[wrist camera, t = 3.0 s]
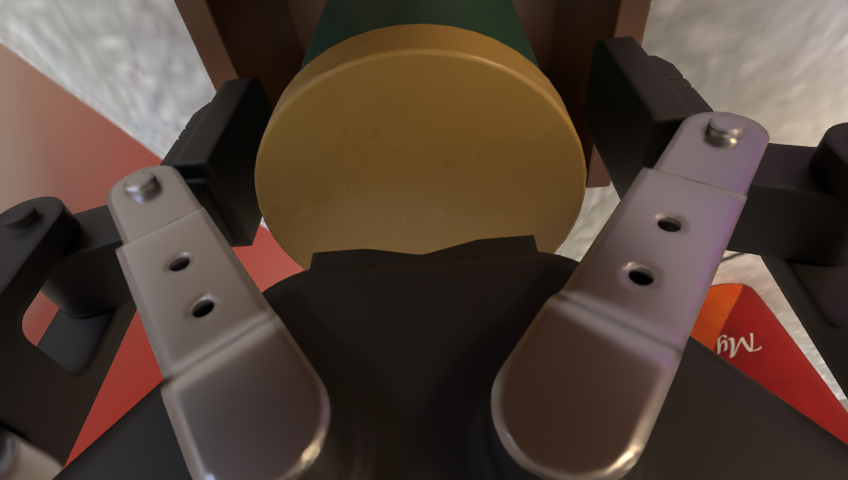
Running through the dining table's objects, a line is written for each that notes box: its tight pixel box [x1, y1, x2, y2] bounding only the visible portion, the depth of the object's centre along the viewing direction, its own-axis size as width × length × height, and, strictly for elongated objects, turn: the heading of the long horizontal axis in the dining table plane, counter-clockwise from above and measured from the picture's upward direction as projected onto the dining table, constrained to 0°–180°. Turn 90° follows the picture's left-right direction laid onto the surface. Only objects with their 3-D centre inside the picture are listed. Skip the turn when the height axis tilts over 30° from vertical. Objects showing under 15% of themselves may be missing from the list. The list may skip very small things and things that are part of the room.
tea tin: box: [255, 0, 586, 270], centre depth 13 cm, size 6×6×14 cm
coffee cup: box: [690, 284, 848, 445], centre depth 31 cm, size 8×8×15 cm
